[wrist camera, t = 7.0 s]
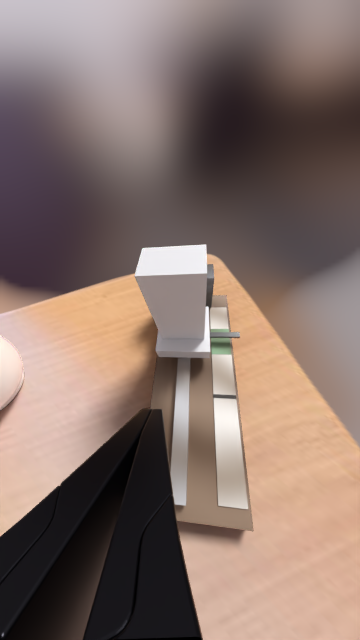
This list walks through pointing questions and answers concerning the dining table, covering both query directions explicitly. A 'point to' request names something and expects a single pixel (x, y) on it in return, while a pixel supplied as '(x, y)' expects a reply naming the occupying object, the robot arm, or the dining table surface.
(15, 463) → the dining table surface
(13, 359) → the lidded jar
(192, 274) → the slider
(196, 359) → the base
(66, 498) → the robot arm
